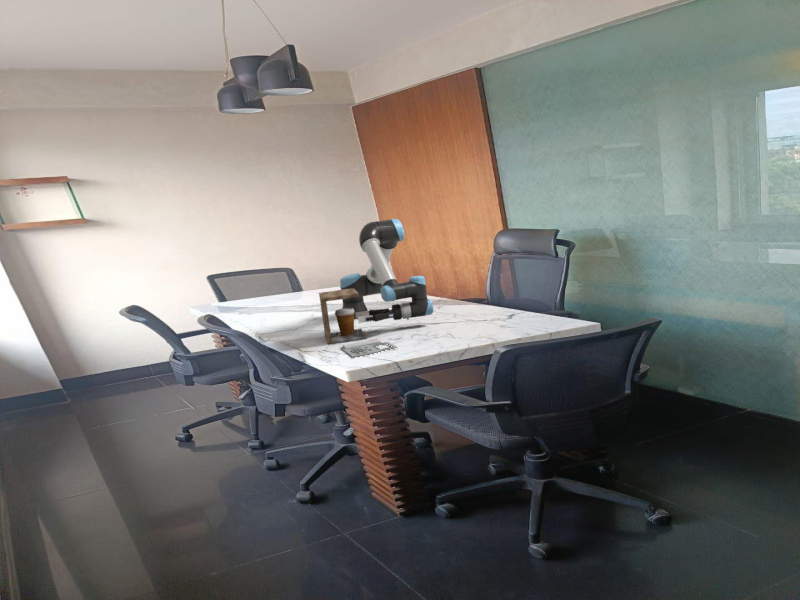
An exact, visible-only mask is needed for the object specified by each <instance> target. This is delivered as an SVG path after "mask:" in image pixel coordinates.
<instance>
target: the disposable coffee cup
mask: <svg viewBox="0 0 800 600" xmlns="http://www.w3.org/2000/svg"><path fill="white" fill-rule="evenodd" d="M354 312H355V311H354V309H353V308H344V309H342V308H339V309H336V310H335V313H334V316H335V318H336V321H337V324H338V329H339V332H340V333H341V335H342V336H348V335H352V334H354V330H355V319H354Z"/></svg>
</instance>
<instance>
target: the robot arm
mask: <svg viewBox="0 0 800 600" xmlns="http://www.w3.org/2000/svg"><path fill="white" fill-rule="evenodd" d="M404 240H405V230H404V226H403V224H402V222H401V221H400V220H399V219H397V218H390V219H385V220H384V219H383V220H378V221H370V222H368V223H366V224H365V225H364V226H363V227H362V229H361V230H360V233H359V239H358V242H359V245H360V246H359V247H360V248H361V250H362V252H364V253H366V256H367V257H368V261H369V262H370V263H371V266H370V268H368V269H367V271H366V274H361V273H359V272H358V273H357V272H356V273H351V274H348V275H345V276H343V277H341V278H340V280H339V284H340V285H339V288H340V290H343V289H350V288H354V289H355V290H356V291H357V292H358V293H359V297H354V298H347V299H341V300H342V307H341V309H344V308H353V309H354V311H355V312H354V320H357V319H358V324H363V323H369V322H370V323H371V322H379V321H383V320H388V319H393V320H394V321H398V320H399V321H401V320H402V319H403V320H404V319H406V320H409V319H410V318H411V319H412V318H419V317H426V316H431V315H433V313H434V304H433V301H432V299H430V298H429V299H428V295H427V284H426V278H425V277H424V276H423V275H414V276H410V277H409V279H408V281H405V282H400V283H399V282H398V279H397V278H396V276H395V274H394V272H393V270H392V268H391V266H390V264H389V263H390V259H391V257H392V253H393V250H394V249H395V248H396V247H397V245H398V243H399V242H403V241H404ZM379 294H380V296H381V299H382V301H384V302H394V301H398V300H403V299H405V300H406V299H409V298H410V299H411V302H410V301H409V302H407V301H406V302H402V303H396V304H395V303H394V304H392V305H391V309H390V308H389V307H387V308H380V309H379V308H378V309H369V310H368V307H367V306H366V304H365V302H364V301H365V300H364V297H367V296H373V295H374V296H375V295H379Z"/></svg>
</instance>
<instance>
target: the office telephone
mask: <svg viewBox="0 0 800 600" xmlns="http://www.w3.org/2000/svg"><path fill="white" fill-rule="evenodd" d="M384 344H388V345H390V346H392V347H390V346H388V345H387V346H388V347H385V348H380V346H379V345H382V346H385V345H384ZM376 346H377V347H376ZM340 348H341V349H340ZM394 348H397V349H398V346H397V345H395V344H393V343H392V342H389V341H383V342H382V341H380V340H379V339H378V338H373V339H370V340H369V339H368V340H366V341H365V340H364V341H359V342H354V343H348V344H343V345H342V346H340V347H339V349H340V350H341V351H343V352H344V351H345V352H344V353H346V354H347V353H348V354H347V355H349V356H350V357H351V358H352V357H353V358H352V359H356V358H355V357H357V358H361V357H360V356H362V357H366V356H365V355H367V356H371V355H370V354H372V355H375V354H374V353H377V354H379V353H378V352H380V353H382V352H381V351H384V352H386V351H385V350H389V351H391V350H390V349H394Z"/></svg>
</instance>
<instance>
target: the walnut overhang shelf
mask: <svg viewBox="0 0 800 600" xmlns="http://www.w3.org/2000/svg"><path fill="white" fill-rule="evenodd" d="M318 295H319V301H320V309H321V315H322V322H323V330H324V331H323V332H324V337H325V341H326V343H327V346H330V344H331V345H337V343H338V344H343V343H350V341H351V342H358V341H363V340H364V341H365V340H367V338H368V337H367V335H366V334H365V333H364V331H363V330H362V328H357V329H355V328H354V334H352V335H348V336H342V335H341V333H340V331H339V332H338V331H336V332H331V326H330V325H331V324H330V319H329V313H328V312H329V311H328V310H329V309H328V304H327V303H328V302H331V301H338V300H342V299H347V298H354V297H359V293H358V292H357V291H356V290H355V289H354V288H350V289H343V290H341V289H338V290H332V291H331V290H329V291H324V292H319V293H318Z"/></svg>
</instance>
